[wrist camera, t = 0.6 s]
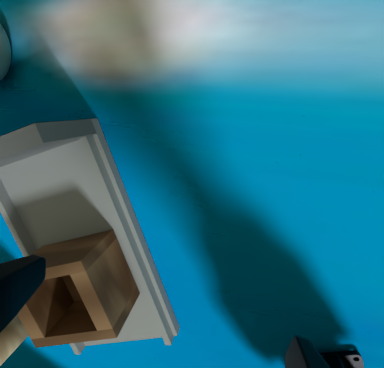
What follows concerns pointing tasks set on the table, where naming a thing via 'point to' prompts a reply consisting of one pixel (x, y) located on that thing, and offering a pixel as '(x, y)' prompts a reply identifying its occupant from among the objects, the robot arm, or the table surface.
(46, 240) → the track
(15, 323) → the dowel
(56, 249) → the block
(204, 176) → the table surface
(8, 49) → the plastic bottle
